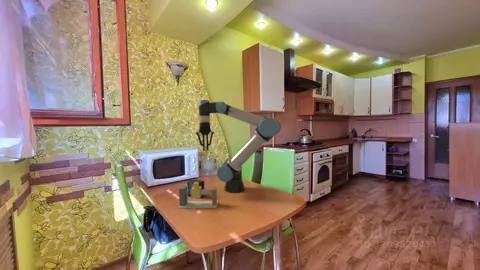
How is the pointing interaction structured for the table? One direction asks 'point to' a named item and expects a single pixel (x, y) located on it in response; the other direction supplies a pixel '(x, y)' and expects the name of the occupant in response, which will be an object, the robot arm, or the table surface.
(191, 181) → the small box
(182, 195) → the rail
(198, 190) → the sleeve
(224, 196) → the table surface
